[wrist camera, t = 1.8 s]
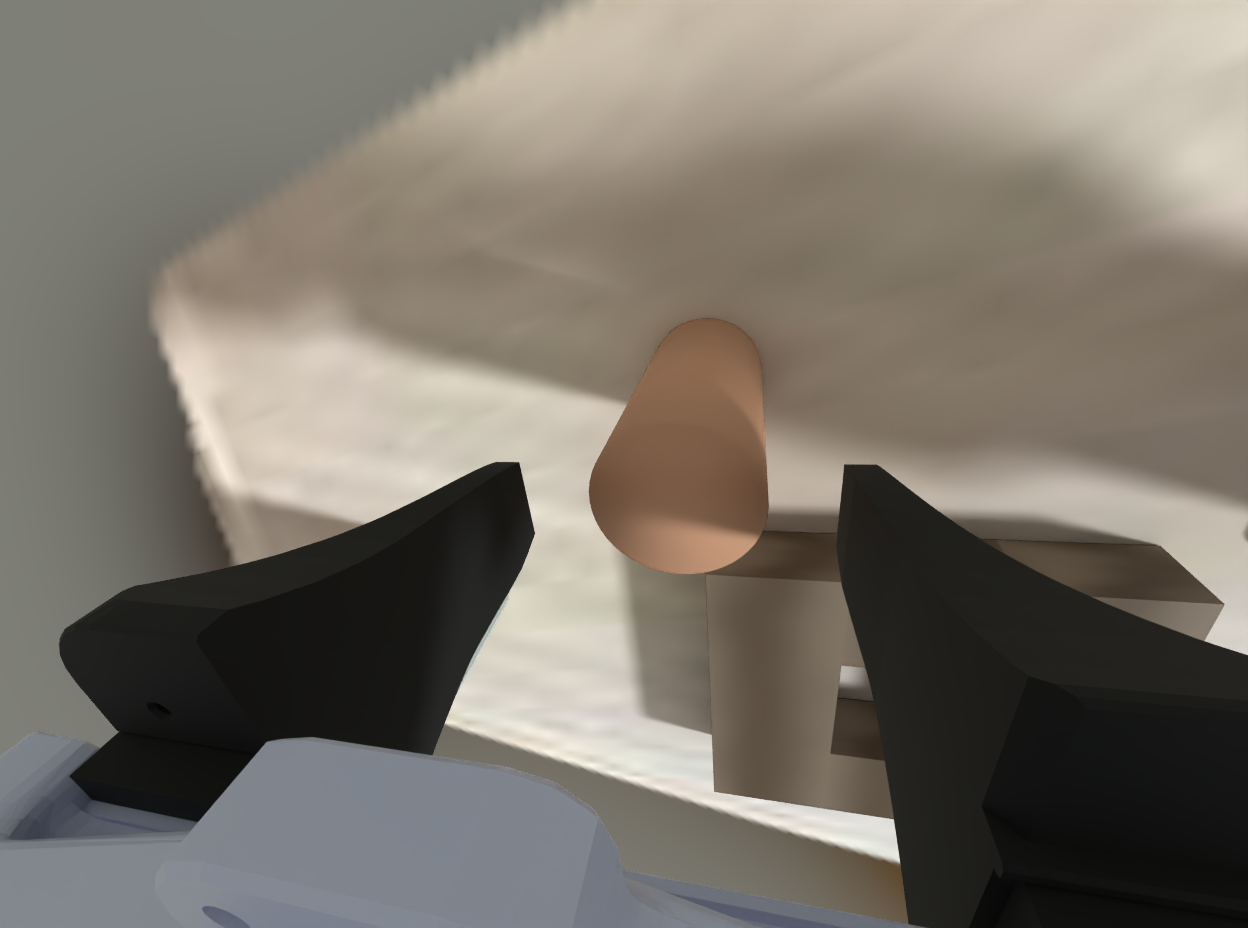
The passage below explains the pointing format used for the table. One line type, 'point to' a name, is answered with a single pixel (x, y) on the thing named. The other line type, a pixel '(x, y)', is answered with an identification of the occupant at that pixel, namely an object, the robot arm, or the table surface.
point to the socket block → (825, 639)
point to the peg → (688, 455)
